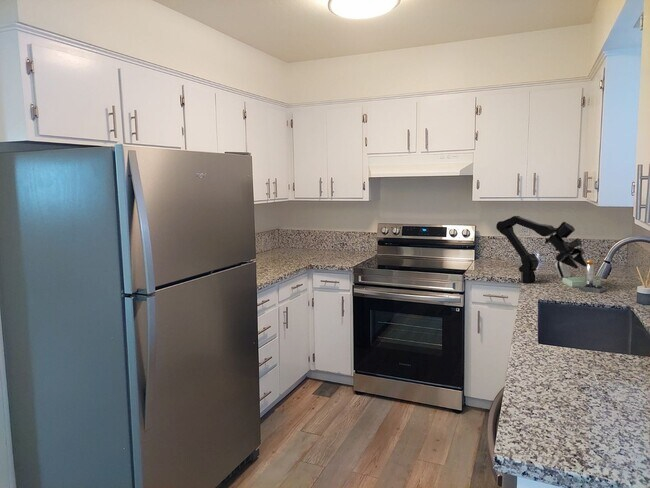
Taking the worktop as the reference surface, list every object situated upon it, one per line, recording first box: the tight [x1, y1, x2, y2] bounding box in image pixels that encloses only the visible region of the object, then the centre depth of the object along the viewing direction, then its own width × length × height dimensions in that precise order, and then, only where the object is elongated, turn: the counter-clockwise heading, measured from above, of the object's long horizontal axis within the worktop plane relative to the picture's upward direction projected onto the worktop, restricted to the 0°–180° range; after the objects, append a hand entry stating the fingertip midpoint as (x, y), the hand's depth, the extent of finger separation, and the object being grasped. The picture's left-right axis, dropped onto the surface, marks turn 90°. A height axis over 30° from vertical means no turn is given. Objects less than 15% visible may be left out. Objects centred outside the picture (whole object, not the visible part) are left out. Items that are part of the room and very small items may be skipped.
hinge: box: [554, 261, 572, 279], centre depth 270 cm, size 17×5×10 cm, turn 148°
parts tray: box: [561, 276, 602, 288], centre depth 243 cm, size 14×12×3 cm
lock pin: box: [584, 259, 595, 287], centre depth 229 cm, size 4×4×15 cm
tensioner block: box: [578, 284, 607, 294], centre depth 228 cm, size 9×7×3 cm
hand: (581, 267), depth 231 cm, fingers open, 9 cm apart
